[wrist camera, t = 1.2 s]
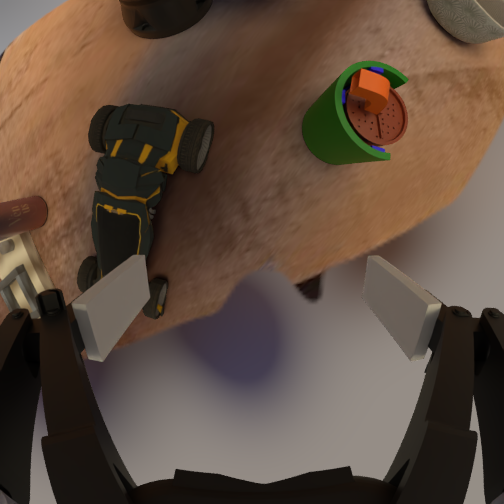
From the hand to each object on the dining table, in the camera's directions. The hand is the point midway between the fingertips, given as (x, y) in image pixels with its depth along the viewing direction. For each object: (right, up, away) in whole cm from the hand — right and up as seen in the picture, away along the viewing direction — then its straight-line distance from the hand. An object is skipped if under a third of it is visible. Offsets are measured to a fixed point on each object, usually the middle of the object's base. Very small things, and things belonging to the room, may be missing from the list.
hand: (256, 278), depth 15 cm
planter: (+40, +50, +12) cm, 65 cm away
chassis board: (-48, -3, +26) cm, 55 cm away
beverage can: (-40, +9, +23) cm, 47 cm away
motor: (+11, +19, +20) cm, 30 cm away
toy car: (-17, +8, +24) cm, 31 cm away
